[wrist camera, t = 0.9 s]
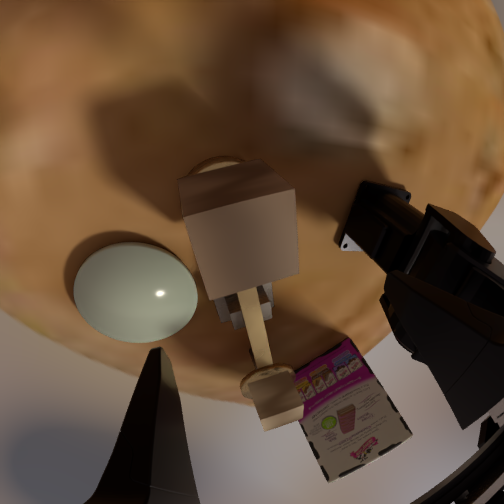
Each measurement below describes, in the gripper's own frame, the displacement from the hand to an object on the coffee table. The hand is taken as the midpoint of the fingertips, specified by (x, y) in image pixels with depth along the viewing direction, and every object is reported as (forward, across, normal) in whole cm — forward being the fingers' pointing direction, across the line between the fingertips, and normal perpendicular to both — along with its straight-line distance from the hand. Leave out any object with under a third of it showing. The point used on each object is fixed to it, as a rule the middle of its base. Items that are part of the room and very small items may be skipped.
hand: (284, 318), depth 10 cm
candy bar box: (+12, -8, +27) cm, 31 cm away
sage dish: (+11, +9, +6) cm, 15 cm away
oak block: (+6, 0, +18) cm, 19 cm away
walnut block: (+10, 0, 0) cm, 10 cm away
